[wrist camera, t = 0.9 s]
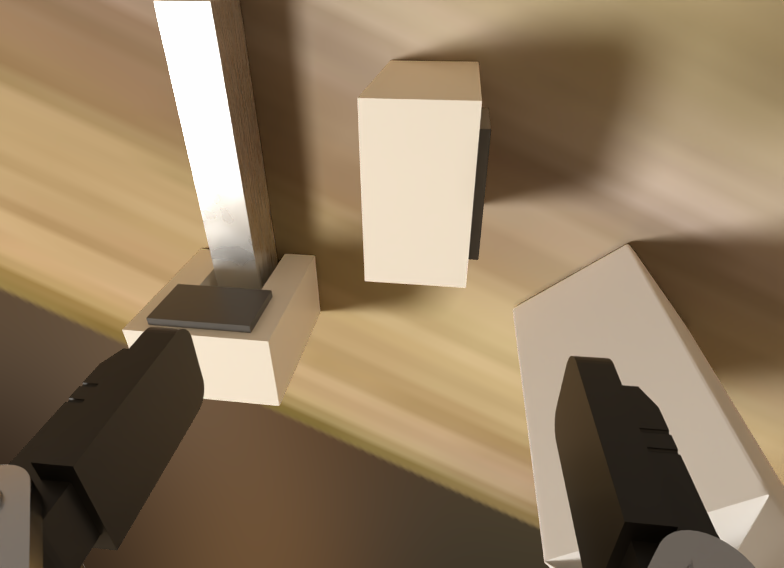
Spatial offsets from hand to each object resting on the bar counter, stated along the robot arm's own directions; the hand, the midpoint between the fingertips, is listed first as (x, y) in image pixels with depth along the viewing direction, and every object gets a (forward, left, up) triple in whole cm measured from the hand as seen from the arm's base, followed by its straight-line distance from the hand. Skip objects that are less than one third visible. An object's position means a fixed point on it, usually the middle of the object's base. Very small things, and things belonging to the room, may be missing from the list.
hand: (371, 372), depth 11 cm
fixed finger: (+10, +9, -17) cm, 21 cm away
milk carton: (-10, +10, -17) cm, 22 cm away
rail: (+10, +2, -17) cm, 20 cm away
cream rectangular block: (0, 0, -17) cm, 17 cm away
